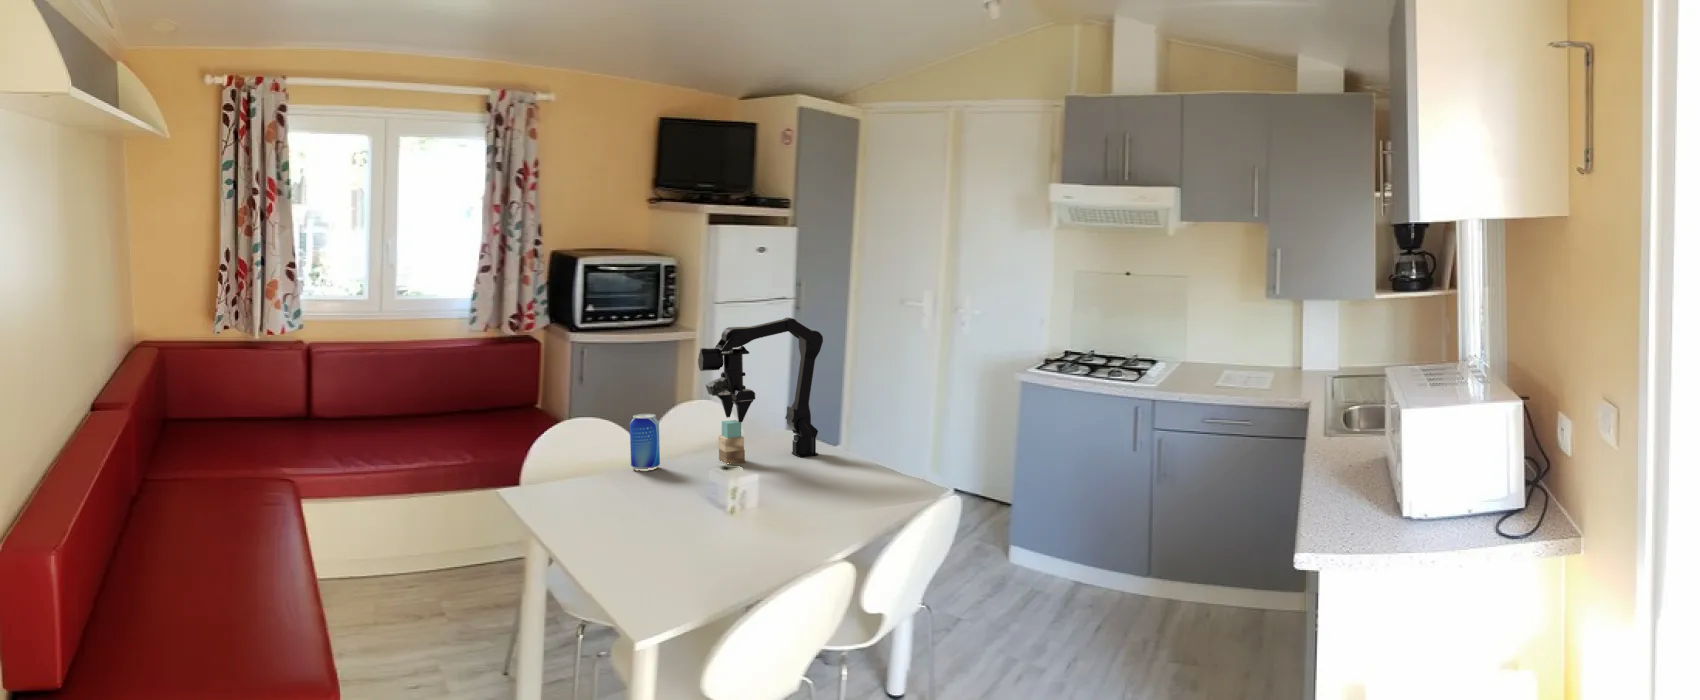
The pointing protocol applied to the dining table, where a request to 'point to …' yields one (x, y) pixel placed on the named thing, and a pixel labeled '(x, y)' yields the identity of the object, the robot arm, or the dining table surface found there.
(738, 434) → the teal cube
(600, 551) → the dining table surface
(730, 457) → the tower base
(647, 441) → the beer can
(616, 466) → the dining table surface
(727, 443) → the tower top
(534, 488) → the dining table surface
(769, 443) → the dining table surface
